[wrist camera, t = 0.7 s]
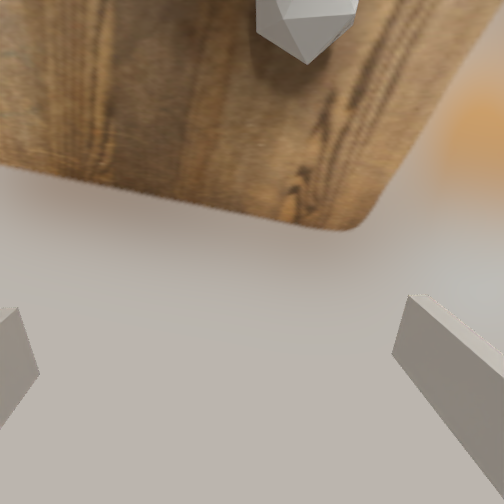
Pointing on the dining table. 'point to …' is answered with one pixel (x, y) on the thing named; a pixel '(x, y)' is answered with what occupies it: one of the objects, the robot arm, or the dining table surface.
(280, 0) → the die
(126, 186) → the dining table surface
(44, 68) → the dining table surface
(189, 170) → the dining table surface
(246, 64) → the dining table surface
